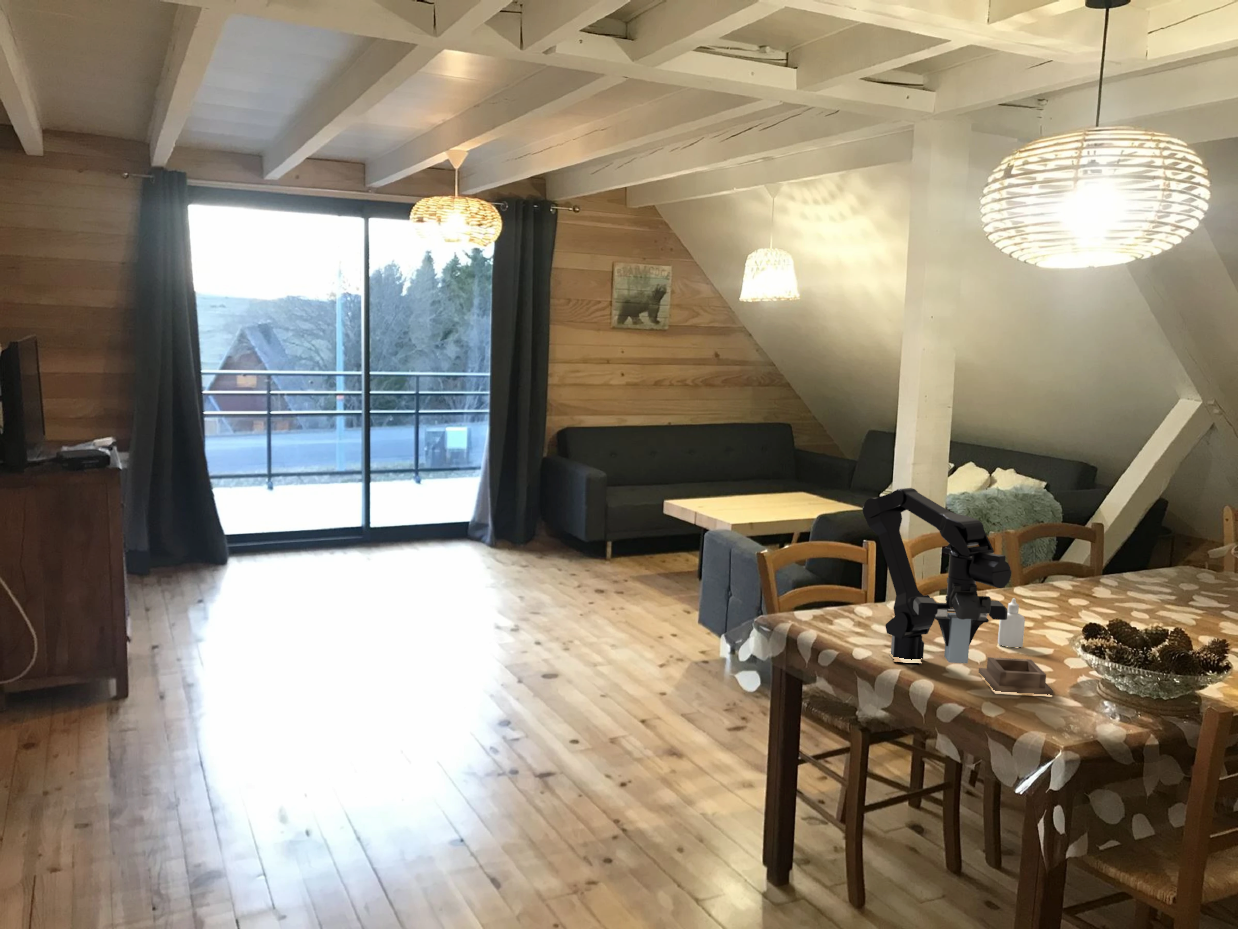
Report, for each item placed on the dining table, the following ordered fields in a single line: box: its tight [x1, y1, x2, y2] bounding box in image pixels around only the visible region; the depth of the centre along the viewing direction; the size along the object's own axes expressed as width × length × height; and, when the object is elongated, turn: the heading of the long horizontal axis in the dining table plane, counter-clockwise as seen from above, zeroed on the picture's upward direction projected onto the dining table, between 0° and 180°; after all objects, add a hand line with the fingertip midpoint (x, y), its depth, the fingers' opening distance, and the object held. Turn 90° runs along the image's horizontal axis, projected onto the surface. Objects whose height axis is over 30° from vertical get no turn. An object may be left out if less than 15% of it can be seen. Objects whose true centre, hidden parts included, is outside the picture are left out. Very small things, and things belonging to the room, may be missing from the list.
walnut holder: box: [978, 657, 1054, 696], centre depth 210 cm, size 12×12×4 cm
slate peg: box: [943, 612, 971, 664], centre depth 212 cm, size 4×4×10 cm
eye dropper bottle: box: [997, 597, 1026, 648], centre depth 236 cm, size 4×6×12 cm
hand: (956, 646), depth 212 cm, fingers closed on slate peg, 4 cm apart
